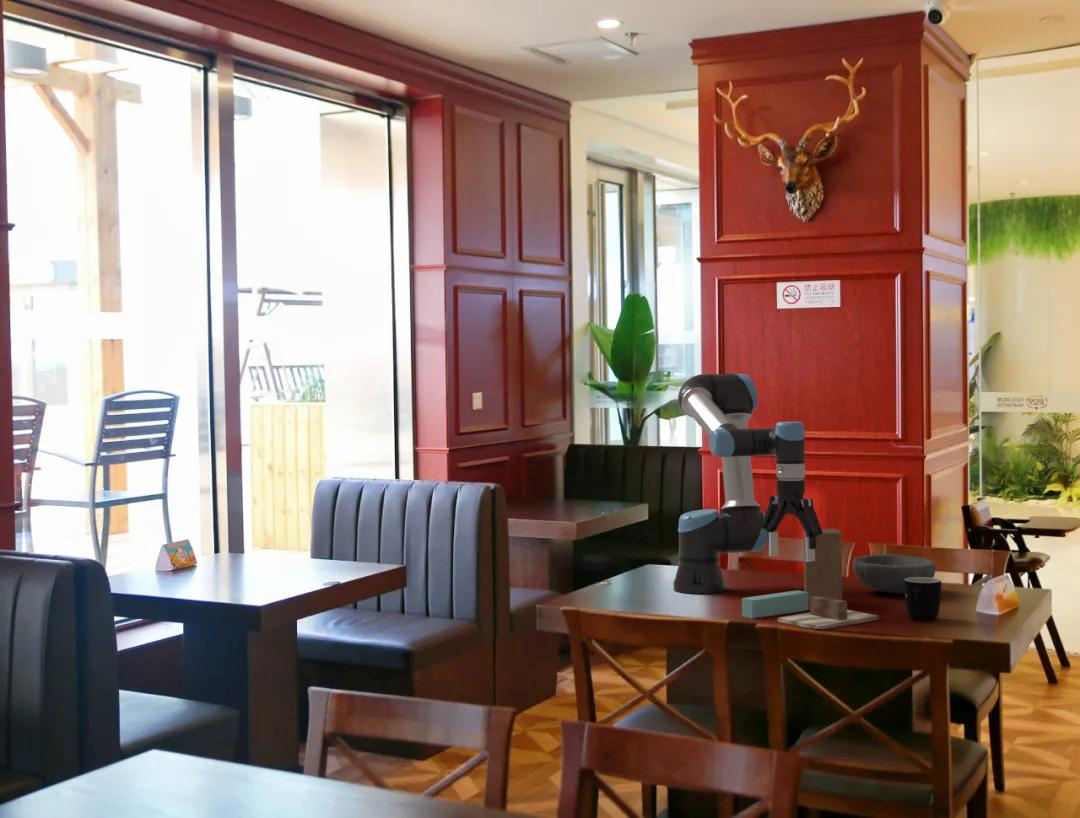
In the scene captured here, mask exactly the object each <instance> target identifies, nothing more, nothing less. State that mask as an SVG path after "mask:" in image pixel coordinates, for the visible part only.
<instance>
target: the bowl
mask: <svg viewBox="0 0 1080 818" xmlns="http://www.w3.org/2000/svg"><path fill="white" fill-rule="evenodd" d="M936 567H937V566H936V563H935V562H934V560H932V559H929V558H925V557H918V556H913V555H905V554H894V553H893V554H892V553H880V554H879V553H878V554H869V555H863V556H855V557H854V558H853V561H852V571H853V572H854V574H855V576H856V578H857V579H858V581H859V582H860V583H861V584H862V585H864V587H867V588H868V589H871V590H874V591H877V592H881V593H885V594H886V593H887V594H896V595H897V594H899V595H905V579H906V578H911V577H928V578H935V573H936V569H937V568H936Z"/></svg>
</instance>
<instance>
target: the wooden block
mask: <svg viewBox="0 0 1080 818" xmlns="http://www.w3.org/2000/svg"><path fill="white" fill-rule="evenodd" d="M821 529H822V532H823V533H822V534H820V535H817V537H816V549H815V561H810V562H806V551H805V537H806V536H807V533H806V532H805V530H804V531H803V554H804V555H803V562H804V563H803V569H804V570H803V572H804V578H803V579H804V581H803V582H804V583H803V584H804V586H803V587H804V592H808V606H810V597H815V596H821V597H826V598H832V599H837V600H842V601H843V568H842V567H843V562H842V561H843V559H842V558H843V554H842V549H843V547H842V545H843V544H842V533H841V530H839V529H838V528H821Z"/></svg>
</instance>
